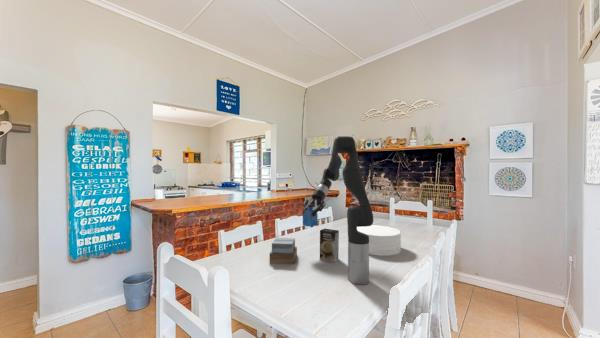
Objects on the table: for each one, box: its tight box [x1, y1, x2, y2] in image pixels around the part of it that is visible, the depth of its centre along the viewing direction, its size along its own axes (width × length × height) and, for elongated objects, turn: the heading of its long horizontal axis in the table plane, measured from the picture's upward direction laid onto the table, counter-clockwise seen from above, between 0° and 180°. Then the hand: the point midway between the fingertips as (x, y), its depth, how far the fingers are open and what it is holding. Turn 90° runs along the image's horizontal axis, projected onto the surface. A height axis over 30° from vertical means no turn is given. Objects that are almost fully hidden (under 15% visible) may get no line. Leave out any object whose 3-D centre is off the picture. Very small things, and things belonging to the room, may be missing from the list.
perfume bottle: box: [302, 204, 319, 228], centre depth 147 cm, size 6×6×12 cm
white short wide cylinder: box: [357, 224, 402, 257], centre depth 159 cm, size 28×28×12 cm
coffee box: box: [319, 228, 340, 263], centre depth 138 cm, size 9×6×16 cm
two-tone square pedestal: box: [269, 237, 298, 265], centre depth 139 cm, size 13×13×10 cm
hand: (308, 215), depth 146 cm, fingers closed on perfume bottle, 6 cm apart
